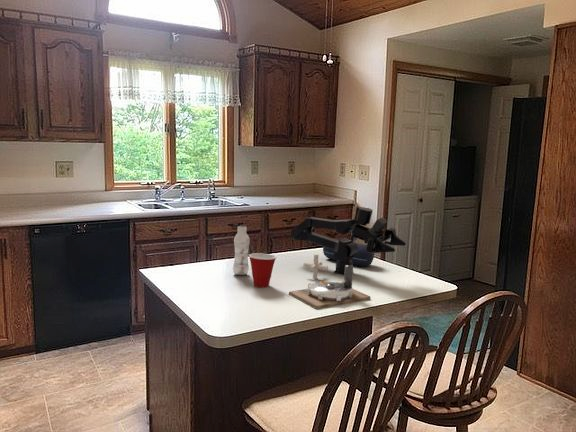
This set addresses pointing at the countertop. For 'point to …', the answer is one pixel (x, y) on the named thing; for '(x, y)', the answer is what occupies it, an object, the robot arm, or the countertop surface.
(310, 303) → the base board
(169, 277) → the countertop surface
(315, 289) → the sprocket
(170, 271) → the countertop surface
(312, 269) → the pipe connector
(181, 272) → the countertop surface
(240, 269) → the plastic bottle
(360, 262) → the portable speaker
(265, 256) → the plastic cup
